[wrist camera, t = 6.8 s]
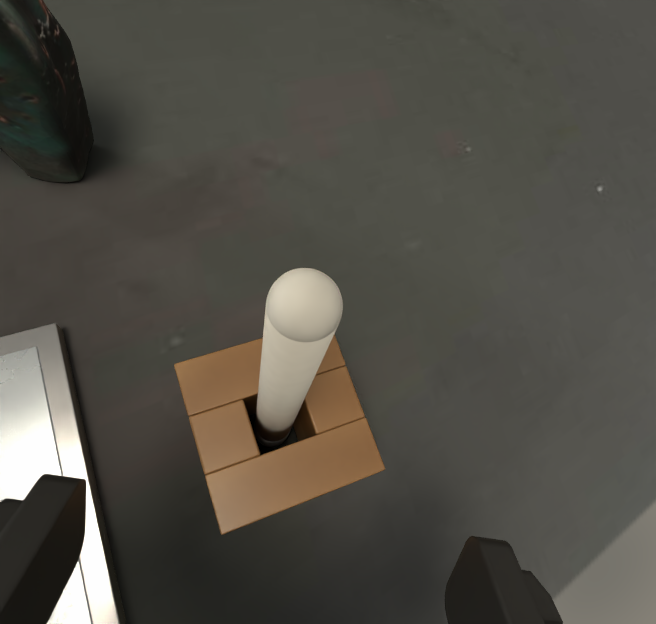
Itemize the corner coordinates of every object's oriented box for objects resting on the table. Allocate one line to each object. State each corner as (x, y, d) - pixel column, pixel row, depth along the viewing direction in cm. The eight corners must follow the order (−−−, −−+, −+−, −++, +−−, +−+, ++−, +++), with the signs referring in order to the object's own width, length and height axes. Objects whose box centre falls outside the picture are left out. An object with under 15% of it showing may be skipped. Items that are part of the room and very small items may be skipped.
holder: (186, 390, 23) (173, 363, 18) (311, 351, 24) (328, 317, 20) (224, 526, 21) (221, 535, 16) (355, 474, 23) (386, 469, 18)
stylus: (249, 422, 23) (255, 263, 9) (281, 411, 23) (332, 244, 9) (259, 454, 22) (282, 339, 9) (292, 443, 23) (363, 315, 9)
